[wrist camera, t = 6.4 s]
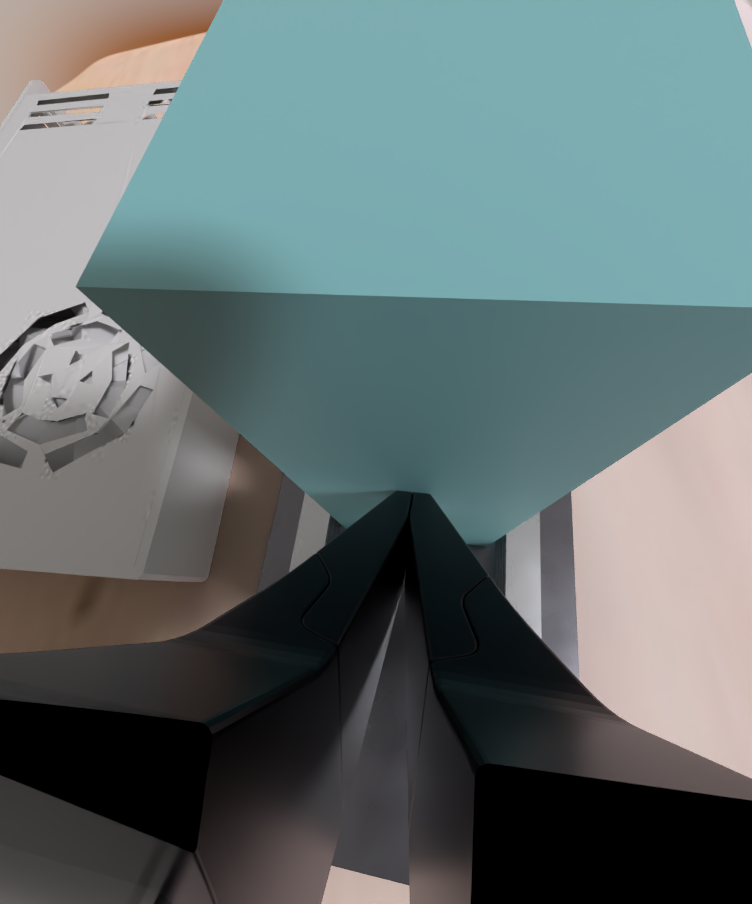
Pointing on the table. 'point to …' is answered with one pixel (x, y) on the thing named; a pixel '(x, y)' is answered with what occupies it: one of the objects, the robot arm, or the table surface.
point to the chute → (385, 742)
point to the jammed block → (446, 240)
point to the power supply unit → (91, 364)
